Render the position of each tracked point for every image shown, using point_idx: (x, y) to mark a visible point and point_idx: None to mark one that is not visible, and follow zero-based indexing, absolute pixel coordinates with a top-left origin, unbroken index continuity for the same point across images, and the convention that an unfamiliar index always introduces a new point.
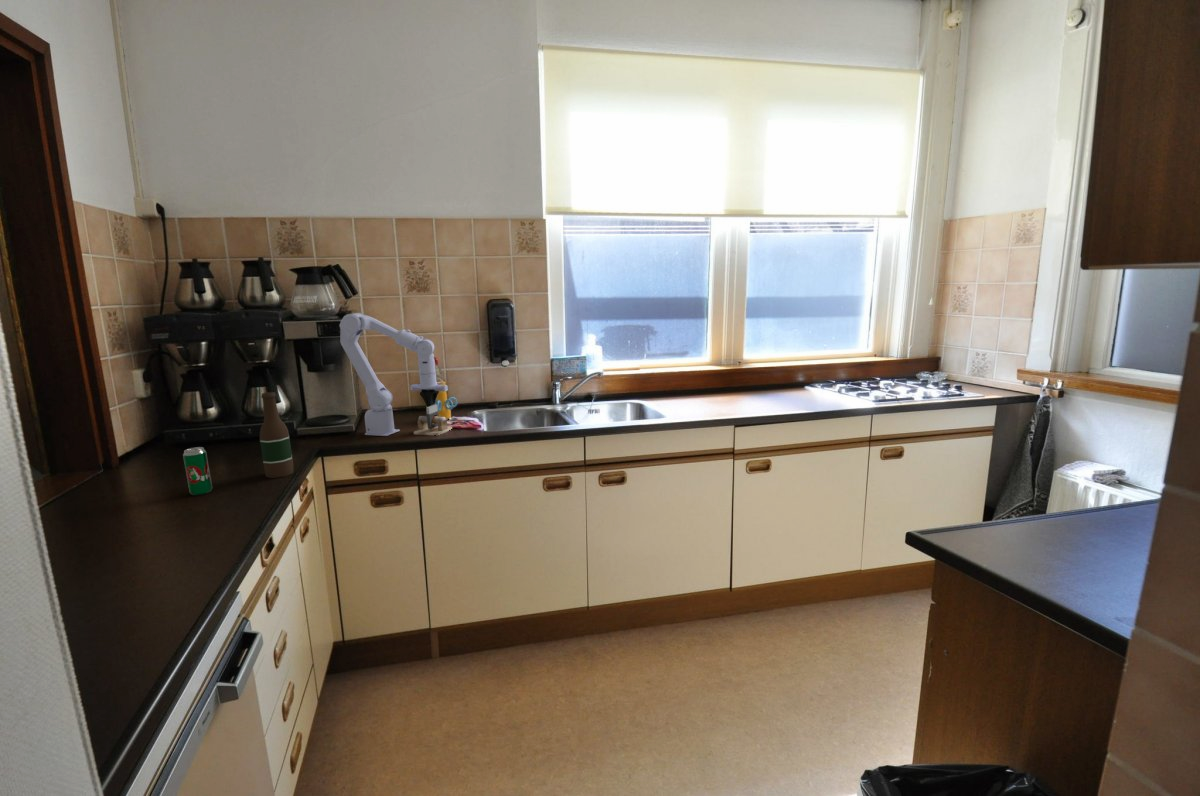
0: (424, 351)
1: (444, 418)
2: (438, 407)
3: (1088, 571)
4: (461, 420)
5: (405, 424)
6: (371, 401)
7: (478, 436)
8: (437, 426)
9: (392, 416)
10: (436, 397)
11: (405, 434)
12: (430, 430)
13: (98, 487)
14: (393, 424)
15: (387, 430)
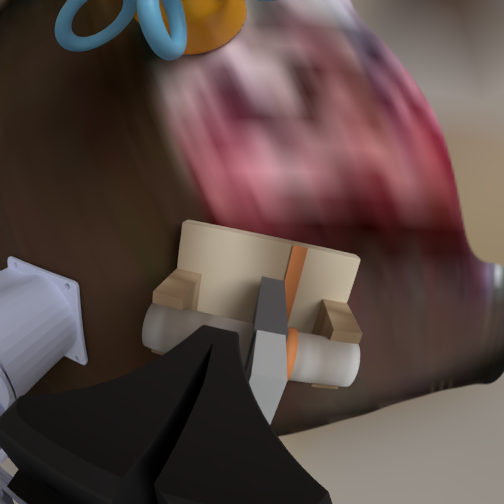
0: None
1: (355, 365)
2: (174, 53)
3: None
4: (325, 28)
5: (44, 149)
6: None
7: (472, 361)
8: (258, 248)
9: (29, 348)
10: (269, 427)
11: (136, 342)
12: None
13: None
14: (53, 327)
15: (67, 350)
